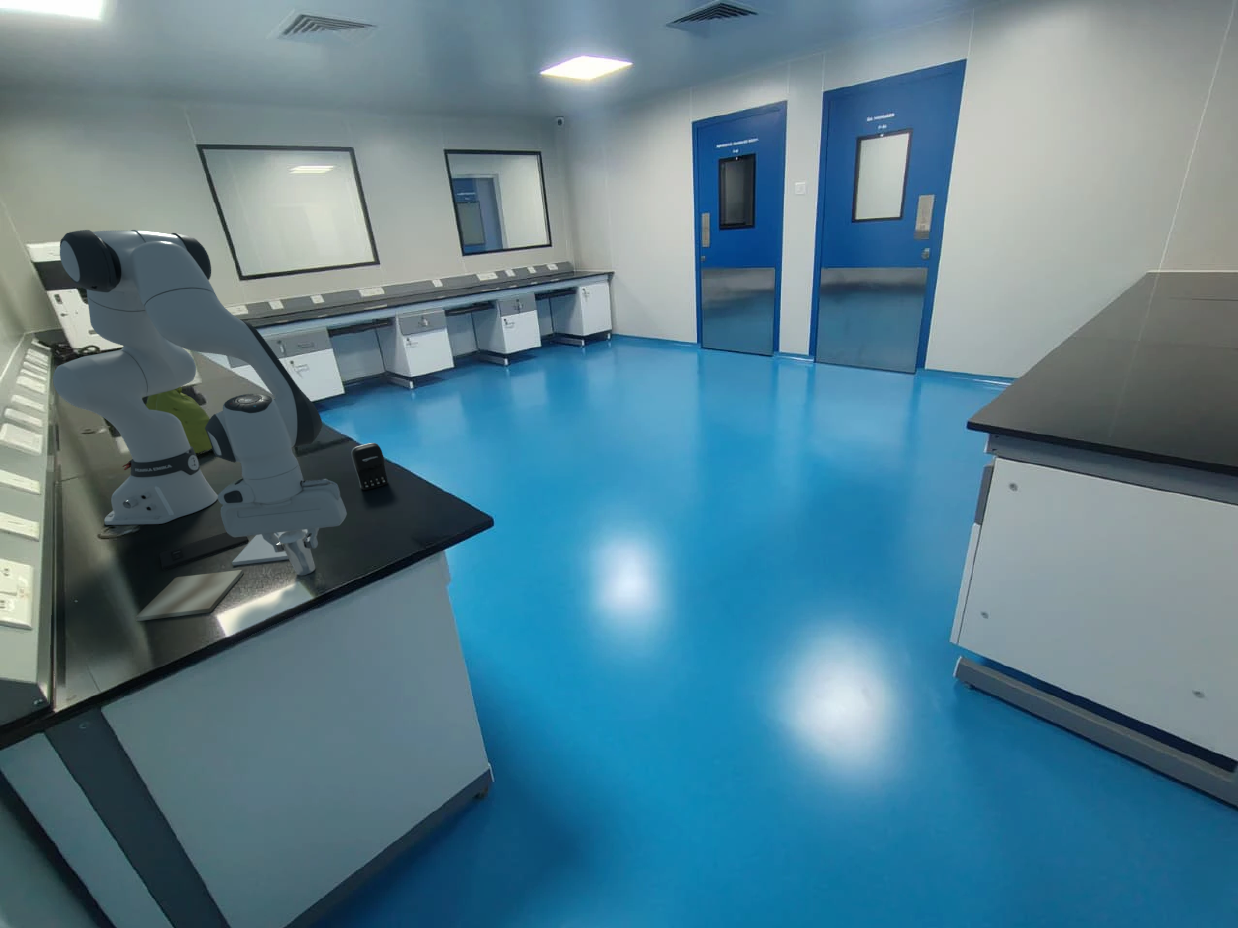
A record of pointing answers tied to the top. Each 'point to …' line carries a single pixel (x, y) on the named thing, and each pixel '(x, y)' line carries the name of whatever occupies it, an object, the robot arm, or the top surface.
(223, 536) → the phone
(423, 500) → the top surface
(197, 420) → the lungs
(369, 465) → the battery charger
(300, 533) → the milkshake
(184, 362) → the robot arm
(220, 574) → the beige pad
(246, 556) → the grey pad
